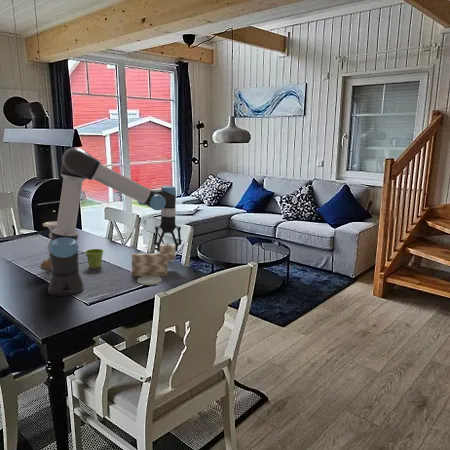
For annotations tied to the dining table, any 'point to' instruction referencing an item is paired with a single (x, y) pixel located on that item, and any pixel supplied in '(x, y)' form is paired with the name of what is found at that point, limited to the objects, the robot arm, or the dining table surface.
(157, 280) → the sage mat
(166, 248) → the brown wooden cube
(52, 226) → the candle holder
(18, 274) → the dining table surface
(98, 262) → the plant pot
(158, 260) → the birch screen
